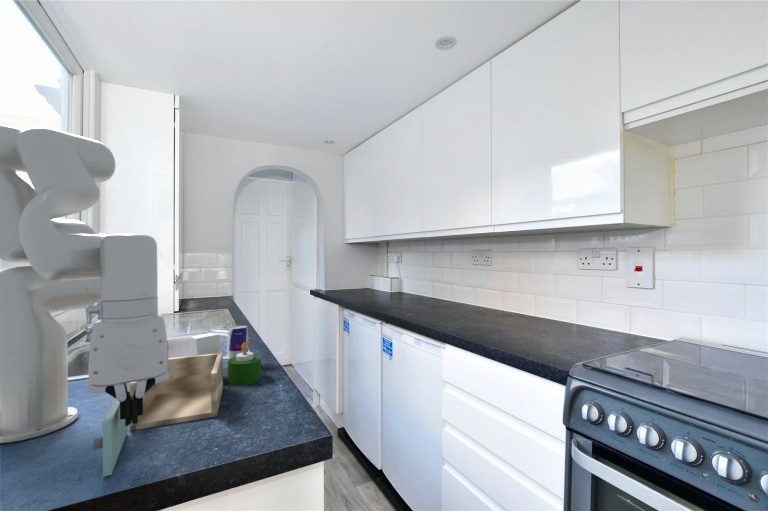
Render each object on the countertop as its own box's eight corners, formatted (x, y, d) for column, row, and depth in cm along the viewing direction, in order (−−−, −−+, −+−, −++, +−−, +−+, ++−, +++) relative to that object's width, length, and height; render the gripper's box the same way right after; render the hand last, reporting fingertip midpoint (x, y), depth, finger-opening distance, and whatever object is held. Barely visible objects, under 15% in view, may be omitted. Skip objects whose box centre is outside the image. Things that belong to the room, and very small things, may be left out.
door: (112, 434, 62) (112, 391, 62) (127, 431, 63) (127, 388, 63) (92, 479, 50) (92, 424, 50) (111, 474, 51) (111, 421, 51)
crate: (129, 430, 65) (129, 383, 65) (152, 398, 80) (152, 360, 80) (216, 416, 70) (216, 372, 70) (223, 388, 85) (222, 352, 85)
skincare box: (212, 374, 95) (212, 332, 95) (220, 377, 93) (220, 334, 93) (189, 381, 90) (189, 336, 91) (197, 384, 88) (197, 338, 88)
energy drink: (241, 370, 99) (240, 329, 99) (224, 369, 100) (224, 328, 100) (251, 364, 104) (251, 325, 104) (236, 363, 105) (235, 324, 105)
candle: (233, 374, 95) (233, 339, 95) (264, 373, 96) (263, 338, 96) (223, 386, 87) (223, 347, 87) (256, 384, 88) (256, 345, 88)
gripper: (63, 317, 48) (64, 446, 48) (184, 307, 57) (185, 417, 56) (74, 311, 55) (76, 425, 55) (182, 303, 63) (183, 402, 63)
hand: (131, 421), depth 56 cm, fingers closed
